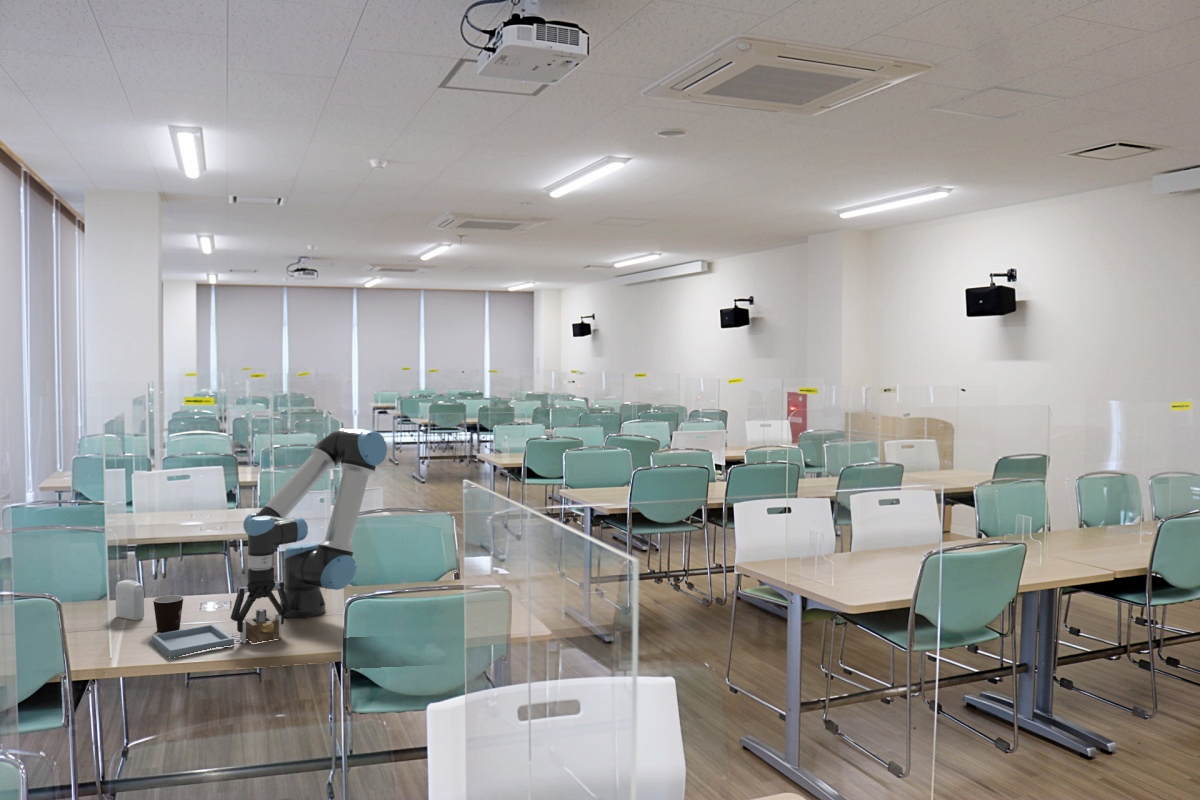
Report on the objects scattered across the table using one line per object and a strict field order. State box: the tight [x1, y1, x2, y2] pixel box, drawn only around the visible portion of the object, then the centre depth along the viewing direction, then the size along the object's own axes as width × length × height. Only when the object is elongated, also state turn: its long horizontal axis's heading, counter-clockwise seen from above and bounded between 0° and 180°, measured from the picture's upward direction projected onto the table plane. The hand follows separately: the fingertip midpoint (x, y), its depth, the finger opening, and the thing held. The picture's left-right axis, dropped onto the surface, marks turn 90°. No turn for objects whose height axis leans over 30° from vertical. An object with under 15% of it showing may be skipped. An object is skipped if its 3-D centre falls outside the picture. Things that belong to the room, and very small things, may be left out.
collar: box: [244, 614, 280, 643], centre depth 282 cm, size 8×10×6 cm
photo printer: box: [115, 579, 145, 621], centre depth 301 cm, size 10×4×12 cm, turn 63°
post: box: [255, 608, 267, 623], centre depth 283 cm, size 3×3×9 cm
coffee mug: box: [152, 594, 184, 634], centre depth 291 cm, size 12×9×10 cm
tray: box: [151, 623, 235, 659], centre depth 277 cm, size 18×18×2 cm
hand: (260, 638), depth 283 cm, fingers open, 10 cm apart
